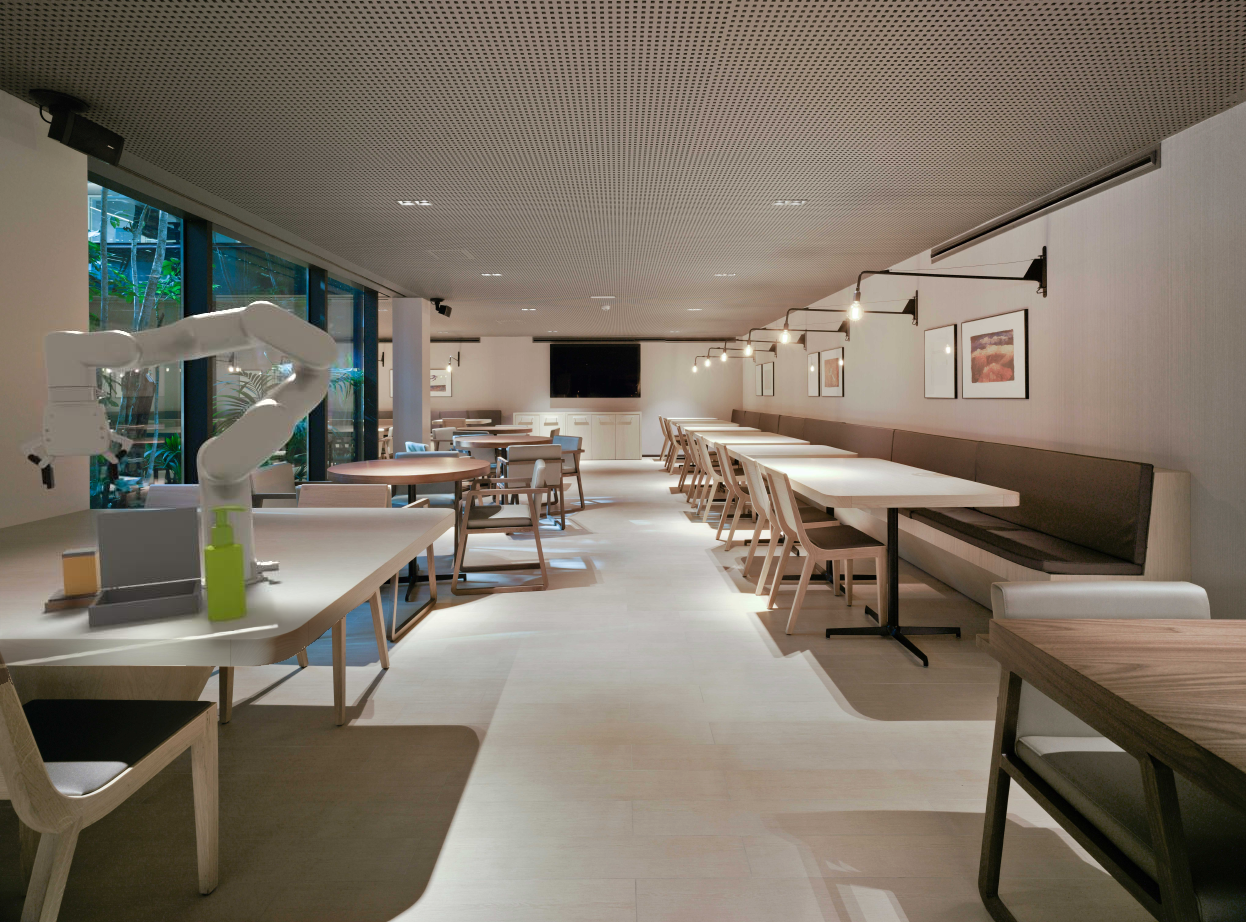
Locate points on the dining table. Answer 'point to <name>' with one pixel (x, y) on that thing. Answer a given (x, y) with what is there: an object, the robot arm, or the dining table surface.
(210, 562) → the soap dispenser
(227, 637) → the dining table surface
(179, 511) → the lid
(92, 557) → the block
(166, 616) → the case
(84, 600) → the pad
